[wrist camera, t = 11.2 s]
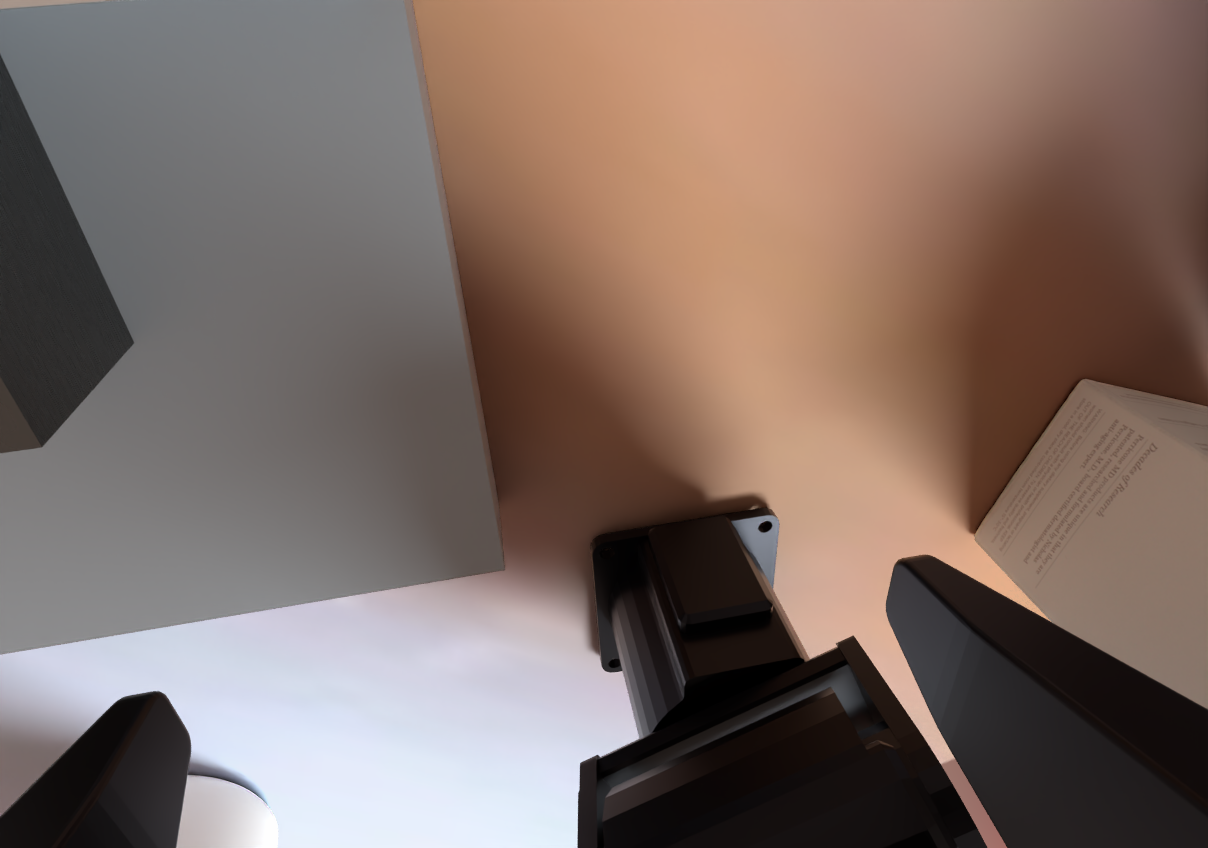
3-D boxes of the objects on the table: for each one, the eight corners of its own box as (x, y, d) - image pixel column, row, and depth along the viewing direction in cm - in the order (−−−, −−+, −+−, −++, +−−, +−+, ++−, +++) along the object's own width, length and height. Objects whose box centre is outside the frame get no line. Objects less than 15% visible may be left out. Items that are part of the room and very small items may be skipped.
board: (499, 504, 22) (504, 570, 20) (-56, 591, 20) (-127, 675, 18) (388, -136, 14) (375, -162, 11) (-583, -93, 12) (-859, -113, 9)
